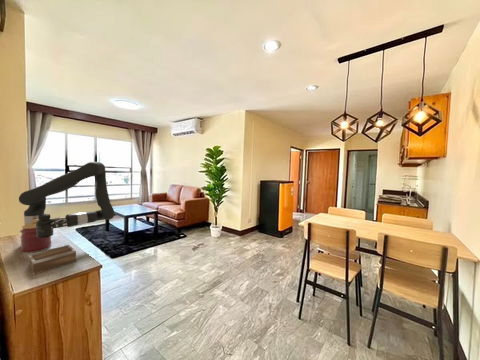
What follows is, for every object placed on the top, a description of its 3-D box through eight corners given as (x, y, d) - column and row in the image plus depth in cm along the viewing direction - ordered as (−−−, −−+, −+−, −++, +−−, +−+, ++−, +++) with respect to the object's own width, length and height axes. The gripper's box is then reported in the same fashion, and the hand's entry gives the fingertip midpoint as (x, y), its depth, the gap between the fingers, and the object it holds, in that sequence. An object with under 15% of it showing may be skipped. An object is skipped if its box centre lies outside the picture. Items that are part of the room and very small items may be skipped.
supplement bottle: (56, 235, 114) (55, 214, 113) (41, 239, 108) (40, 217, 107) (48, 233, 116) (47, 212, 115) (33, 237, 110) (32, 215, 109)
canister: (43, 251, 117) (42, 221, 116) (14, 253, 113) (13, 223, 112) (56, 242, 129) (55, 216, 128) (30, 244, 125) (29, 216, 124)
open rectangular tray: (28, 265, 101) (28, 254, 101) (69, 254, 114) (68, 244, 114) (33, 274, 94) (33, 262, 94) (76, 261, 107) (75, 250, 107)
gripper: (72, 211, 127) (35, 216, 113) (80, 215, 119) (41, 221, 105) (73, 222, 128) (36, 229, 114) (81, 227, 119) (42, 235, 106)
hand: (39, 225), depth 110 cm, fingers closed on supplement bottle, 7 cm apart
